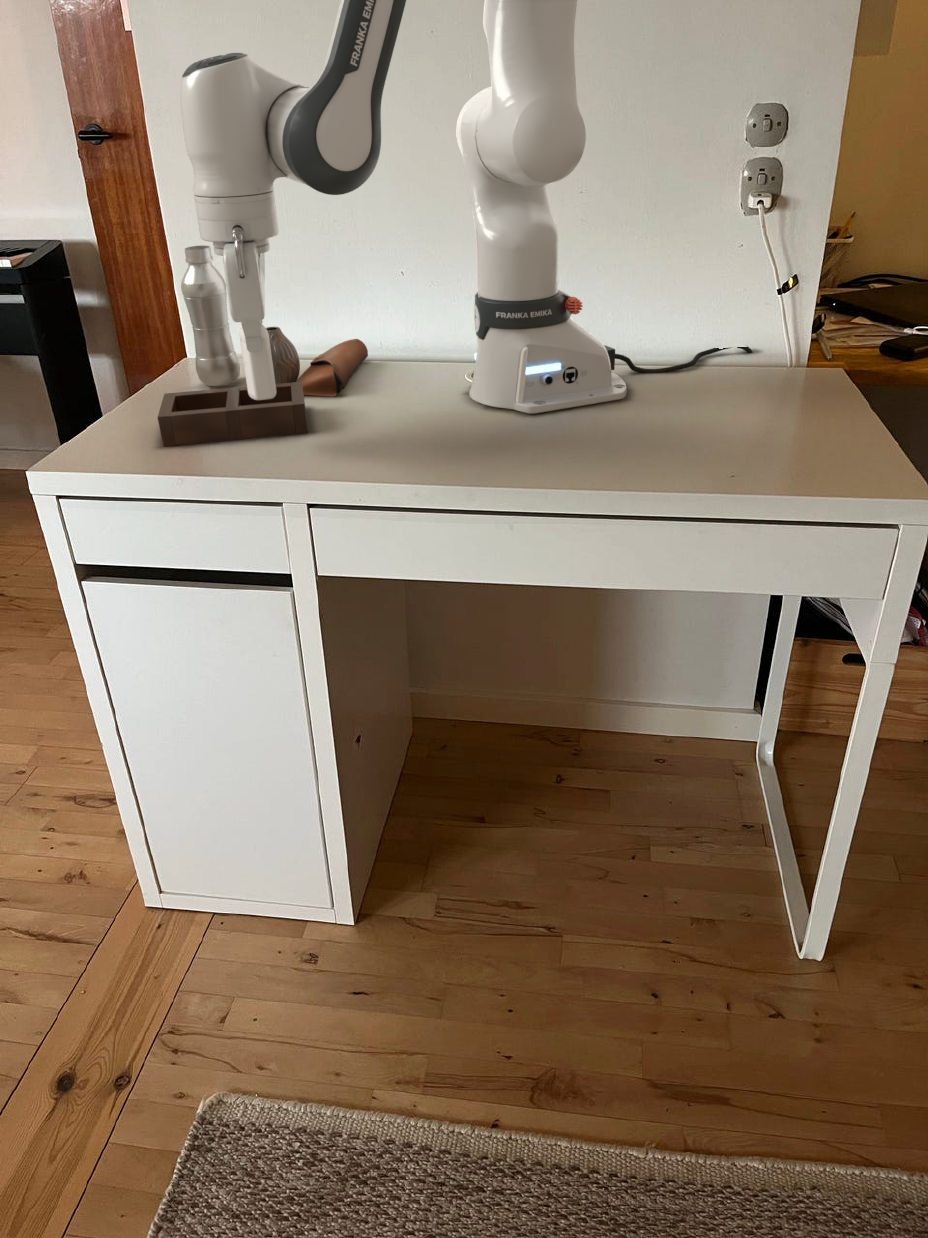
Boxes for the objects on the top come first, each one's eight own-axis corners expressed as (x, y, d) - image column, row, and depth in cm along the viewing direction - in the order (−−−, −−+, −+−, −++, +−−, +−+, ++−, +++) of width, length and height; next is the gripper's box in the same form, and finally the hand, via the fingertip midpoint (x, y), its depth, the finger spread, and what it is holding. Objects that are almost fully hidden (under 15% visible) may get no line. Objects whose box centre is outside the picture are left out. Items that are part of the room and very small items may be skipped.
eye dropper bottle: (237, 400, 117) (221, 299, 111) (254, 386, 121) (240, 289, 115) (270, 402, 116) (256, 300, 110) (287, 388, 121) (274, 289, 115)
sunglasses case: (317, 358, 156) (334, 322, 153) (356, 380, 157) (373, 345, 154) (287, 393, 141) (305, 354, 138) (330, 416, 142) (349, 378, 139)
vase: (293, 394, 142) (285, 334, 138) (249, 393, 143) (240, 334, 139) (308, 380, 148) (301, 322, 143) (266, 379, 149) (258, 322, 145)
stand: (305, 409, 136) (301, 381, 134) (308, 432, 127) (304, 403, 125) (169, 421, 133) (164, 393, 131) (163, 446, 125) (157, 416, 123)
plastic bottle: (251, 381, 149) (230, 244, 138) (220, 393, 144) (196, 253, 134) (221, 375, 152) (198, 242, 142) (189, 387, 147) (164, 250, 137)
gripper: (266, 232, 100) (283, 364, 107) (265, 206, 117) (280, 321, 124) (204, 236, 99) (226, 368, 106) (213, 209, 117) (231, 325, 124)
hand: (255, 342), depth 116 cm, fingers closed on eye dropper bottle, 5 cm apart
